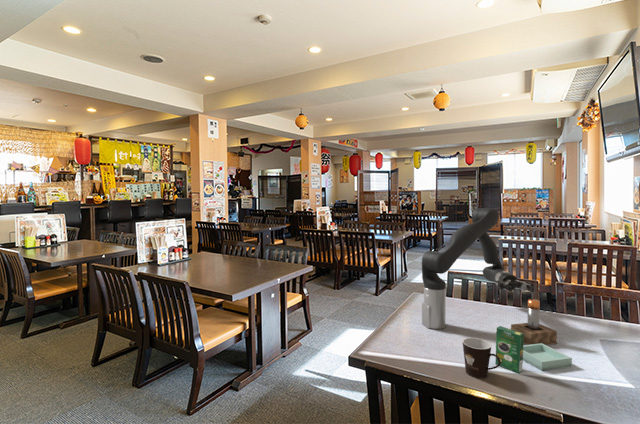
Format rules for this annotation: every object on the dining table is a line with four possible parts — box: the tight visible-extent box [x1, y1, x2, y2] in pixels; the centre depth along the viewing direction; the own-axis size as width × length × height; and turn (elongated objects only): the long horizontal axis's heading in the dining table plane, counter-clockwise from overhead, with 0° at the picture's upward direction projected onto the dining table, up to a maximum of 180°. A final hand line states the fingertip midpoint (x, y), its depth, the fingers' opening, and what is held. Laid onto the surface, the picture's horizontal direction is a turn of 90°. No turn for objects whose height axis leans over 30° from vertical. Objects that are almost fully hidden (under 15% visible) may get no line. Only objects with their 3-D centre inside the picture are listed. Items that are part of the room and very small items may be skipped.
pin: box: [527, 298, 541, 331], centre depth 136 cm, size 4×4×16 cm
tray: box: [523, 343, 573, 372], centre depth 119 cm, size 12×12×3 cm
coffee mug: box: [462, 337, 501, 379], centre depth 109 cm, size 12×9×10 cm
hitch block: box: [510, 322, 558, 346], centre depth 136 cm, size 12×10×5 cm
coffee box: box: [495, 325, 524, 374], centre depth 114 cm, size 8×3×13 cm, turn 35°
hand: (521, 289), depth 146 cm, fingers open, 8 cm apart
